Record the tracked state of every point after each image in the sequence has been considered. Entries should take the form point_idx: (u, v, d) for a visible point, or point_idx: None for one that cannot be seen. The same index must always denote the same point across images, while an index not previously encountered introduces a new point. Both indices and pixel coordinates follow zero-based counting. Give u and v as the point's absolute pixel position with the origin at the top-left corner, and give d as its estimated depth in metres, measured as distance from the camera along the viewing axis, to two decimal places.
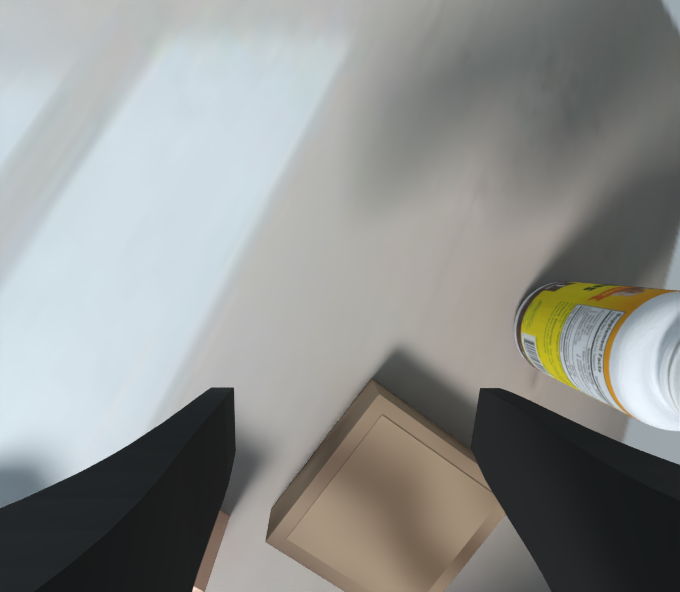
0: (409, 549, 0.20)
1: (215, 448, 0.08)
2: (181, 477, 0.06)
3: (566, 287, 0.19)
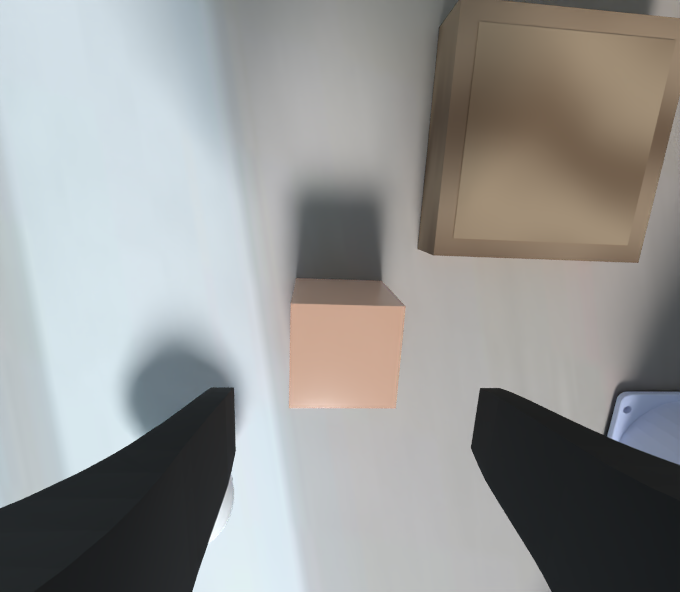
0: (592, 170, 0.16)
1: (215, 448, 0.08)
2: (181, 477, 0.06)
3: None
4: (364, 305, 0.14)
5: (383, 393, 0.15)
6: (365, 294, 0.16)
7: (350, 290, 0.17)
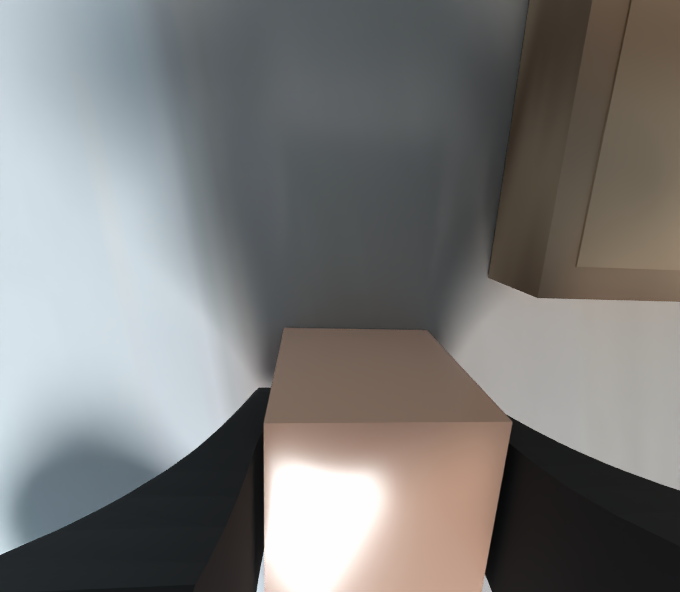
0: None
1: None
2: (254, 476, 0.06)
3: None
4: (425, 421, 0.07)
5: (456, 584, 0.07)
6: (414, 376, 0.08)
7: (382, 362, 0.09)
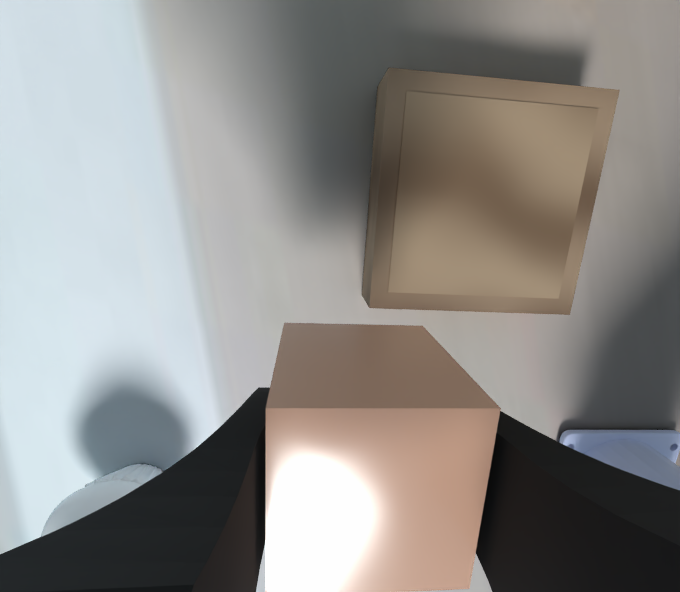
0: (522, 228, 0.16)
1: None
2: (253, 476, 0.07)
3: None
4: (418, 407, 0.07)
5: (448, 565, 0.08)
6: (408, 367, 0.09)
7: (378, 355, 0.09)
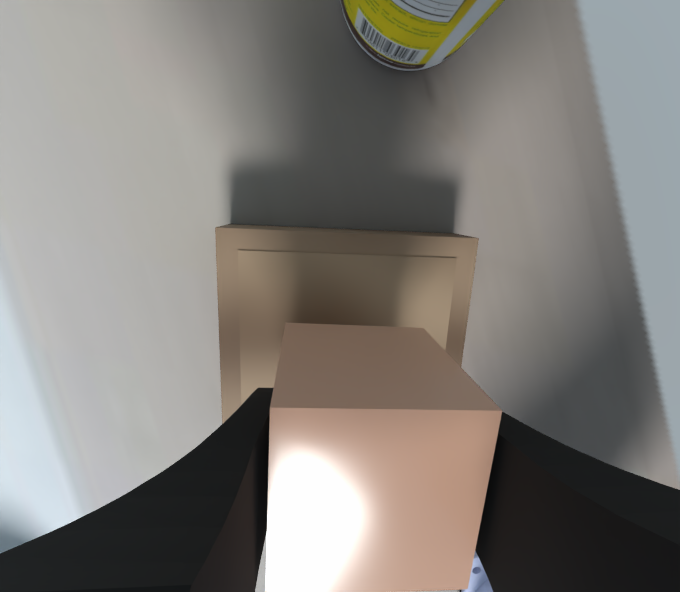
0: None
1: None
2: (252, 476, 0.06)
3: None
4: (420, 409, 0.07)
5: (447, 565, 0.08)
6: (410, 369, 0.09)
7: (380, 356, 0.09)
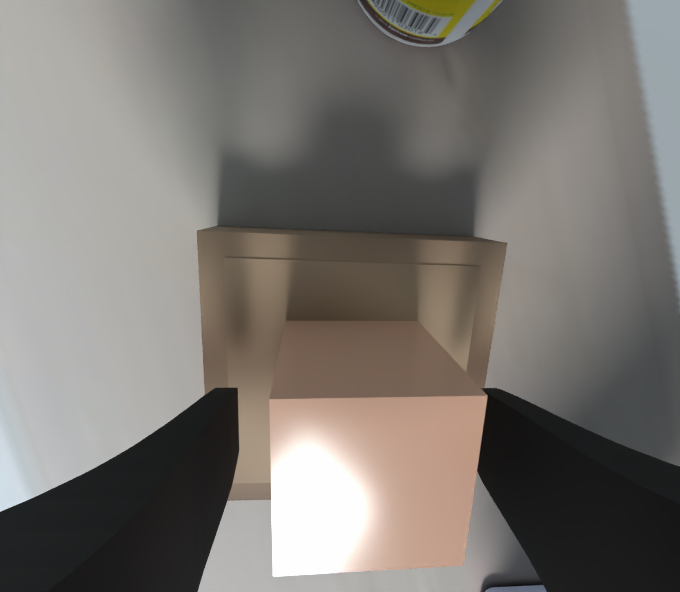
0: None
1: (220, 448, 0.08)
2: (187, 477, 0.06)
3: None
4: (410, 396, 0.07)
5: (443, 543, 0.08)
6: (403, 360, 0.09)
7: (375, 349, 0.10)
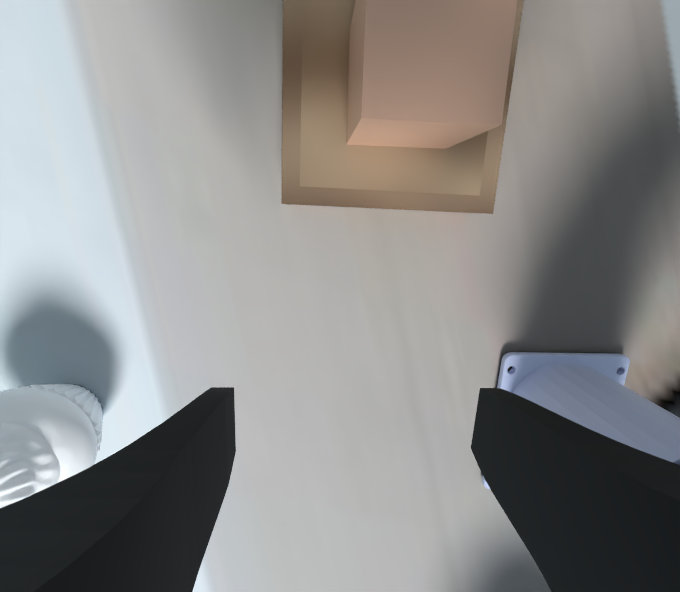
0: None
1: (215, 448, 0.08)
2: (181, 477, 0.06)
3: None
4: None
5: (486, 99, 0.11)
6: None
7: None
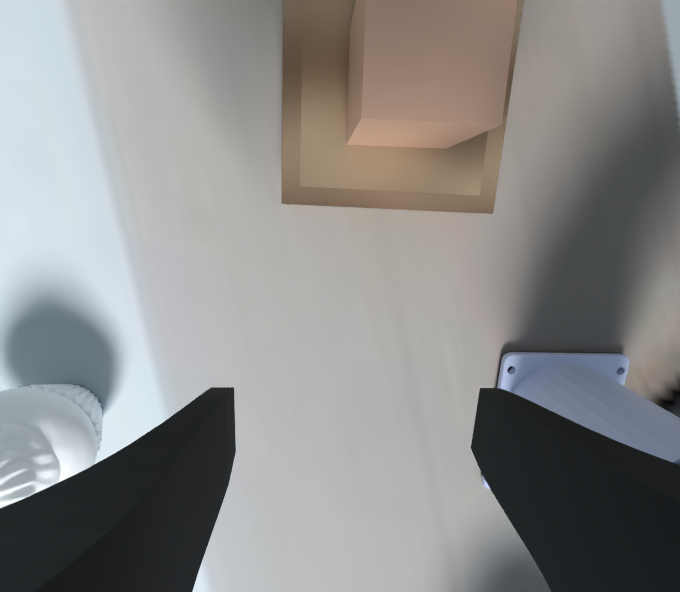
0: None
1: (215, 448, 0.08)
2: (181, 477, 0.06)
3: None
4: None
5: (486, 99, 0.11)
6: None
7: None
